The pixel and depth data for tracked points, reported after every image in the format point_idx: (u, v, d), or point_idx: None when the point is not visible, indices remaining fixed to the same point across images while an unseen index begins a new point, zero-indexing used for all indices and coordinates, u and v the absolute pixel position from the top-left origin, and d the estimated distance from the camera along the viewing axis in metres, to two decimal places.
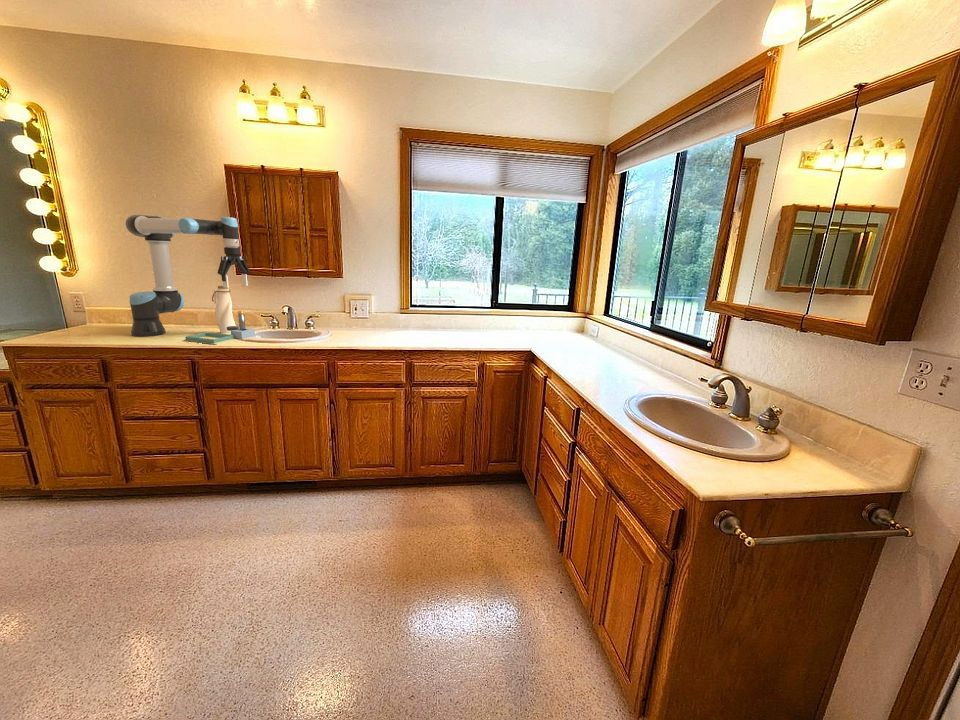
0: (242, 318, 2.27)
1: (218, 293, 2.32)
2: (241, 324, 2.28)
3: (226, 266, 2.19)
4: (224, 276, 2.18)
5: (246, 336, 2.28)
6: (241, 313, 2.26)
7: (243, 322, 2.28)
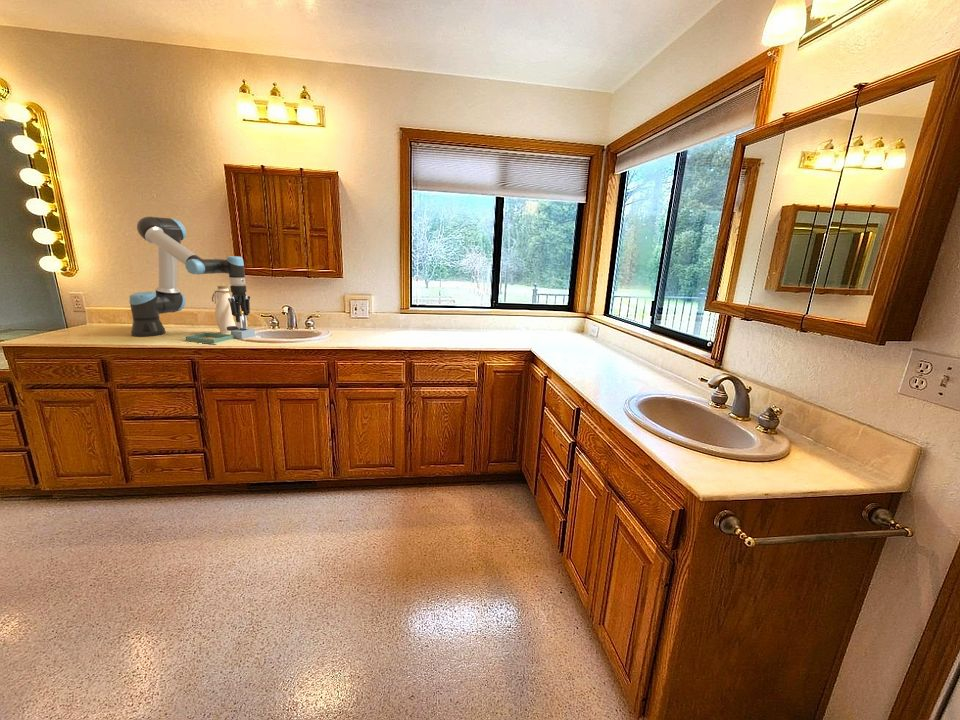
0: (242, 318, 2.27)
1: (218, 293, 2.32)
2: None
3: (236, 306, 2.24)
4: (238, 317, 2.25)
5: (246, 336, 2.28)
6: (241, 313, 2.26)
7: (243, 322, 2.28)
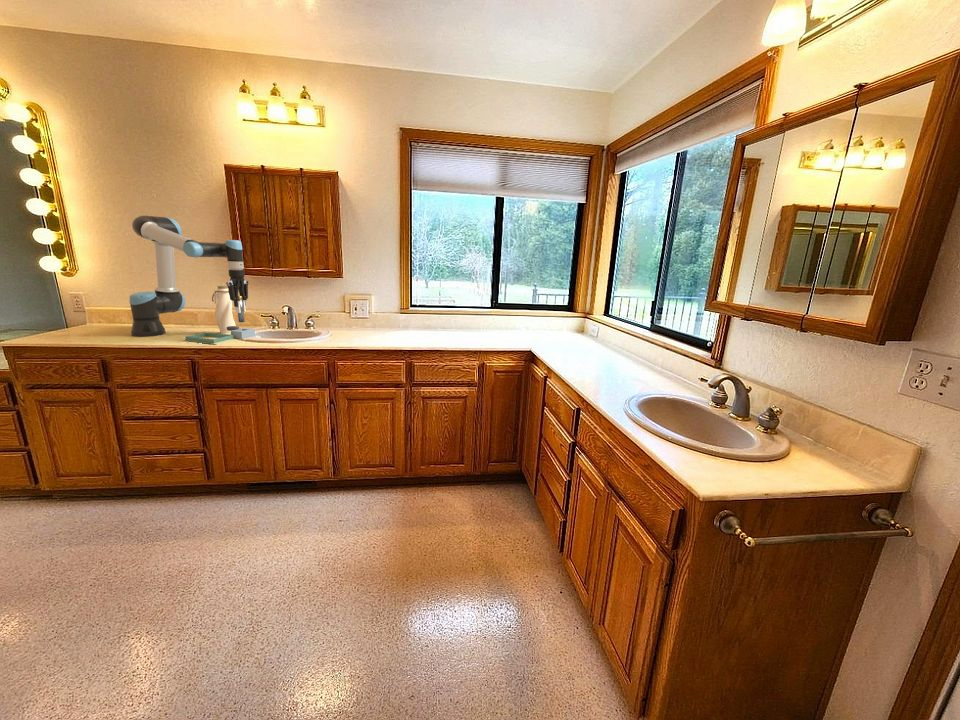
0: (240, 303, 2.25)
1: (218, 293, 2.32)
2: None
3: (235, 291, 2.22)
4: (236, 302, 2.23)
5: (246, 336, 2.28)
6: (239, 298, 2.24)
7: (241, 307, 2.26)
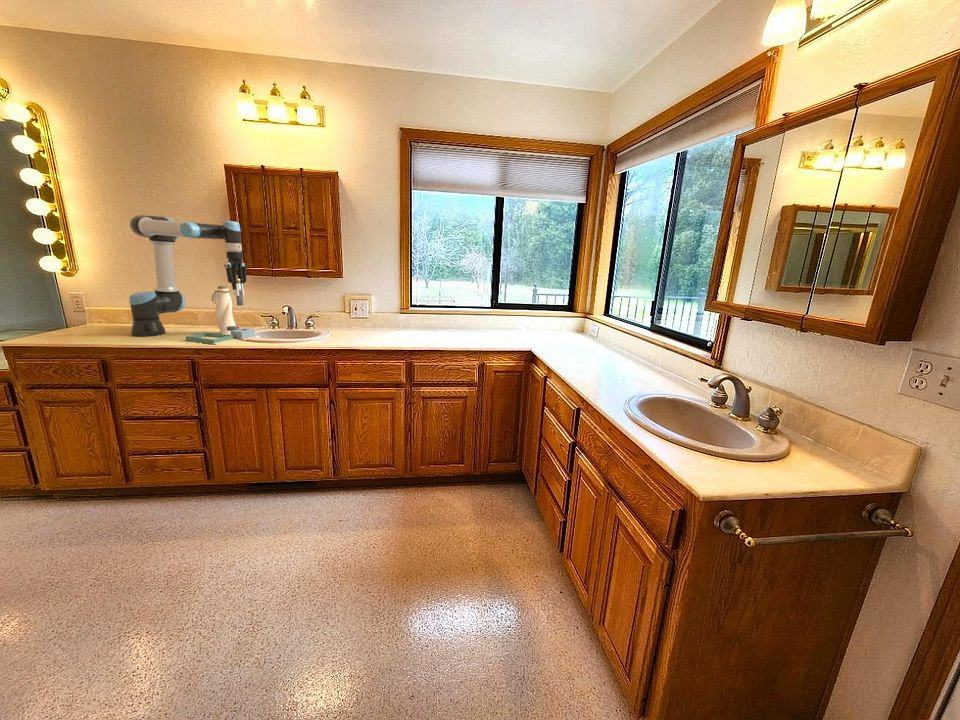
0: (239, 286, 2.22)
1: (218, 293, 2.32)
2: None
3: (233, 273, 2.19)
4: (234, 284, 2.20)
5: (246, 336, 2.28)
6: (238, 280, 2.22)
7: (240, 290, 2.23)
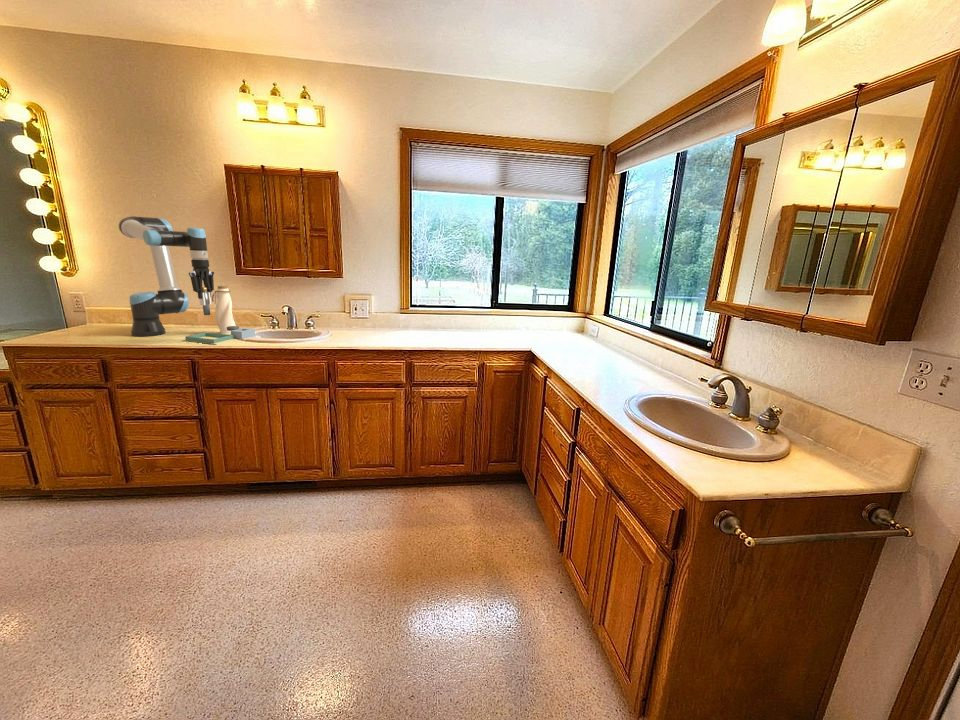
0: (205, 295, 2.14)
1: (218, 293, 2.32)
2: None
3: (198, 282, 2.10)
4: (200, 293, 2.12)
5: (246, 336, 2.28)
6: (204, 289, 2.13)
7: (206, 299, 2.15)
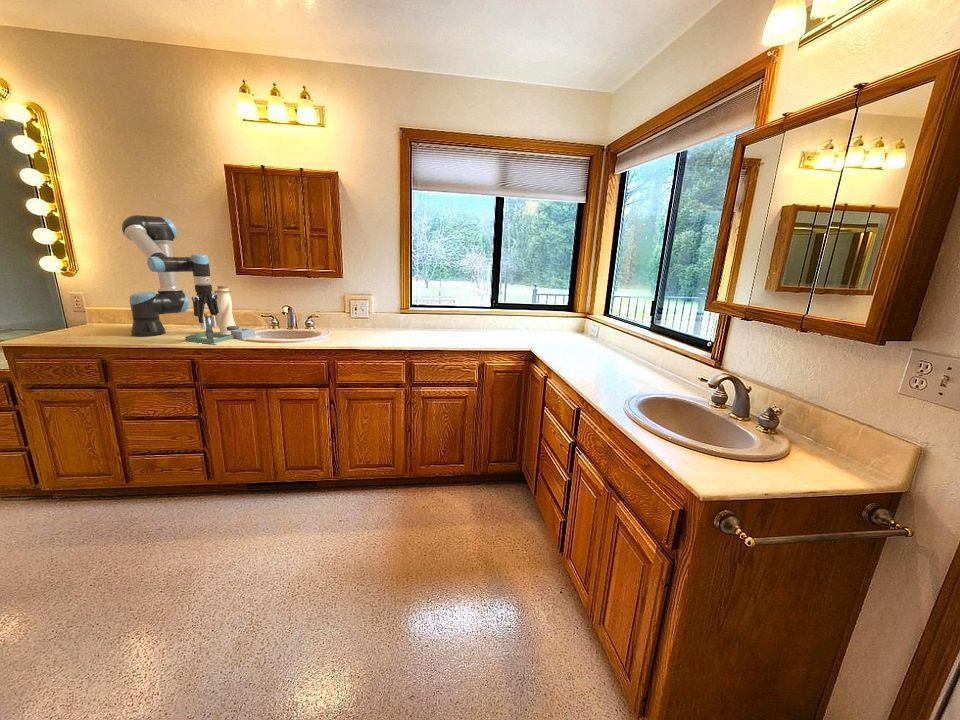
0: (208, 321, 2.17)
1: (218, 293, 2.32)
2: (207, 327, 2.18)
3: (200, 306, 2.13)
4: (201, 318, 2.14)
5: (246, 336, 2.28)
6: (207, 315, 2.17)
7: (209, 325, 2.18)
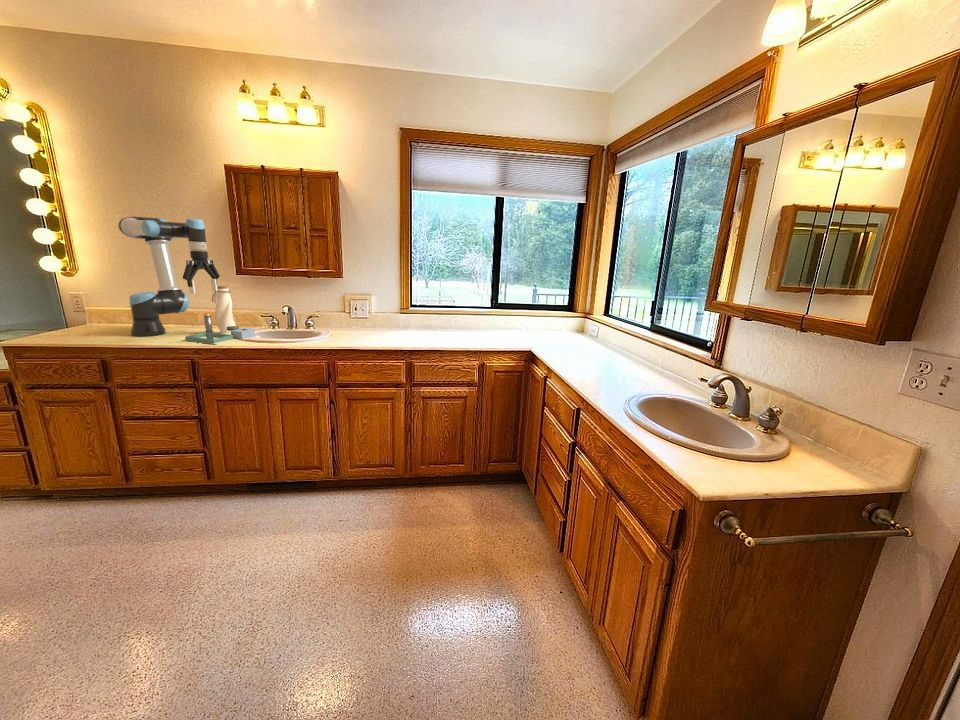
0: (208, 321, 2.17)
1: (218, 293, 2.32)
2: (207, 327, 2.18)
3: (192, 271, 2.07)
4: (190, 281, 2.05)
5: (246, 336, 2.28)
6: (207, 315, 2.17)
7: (209, 325, 2.18)
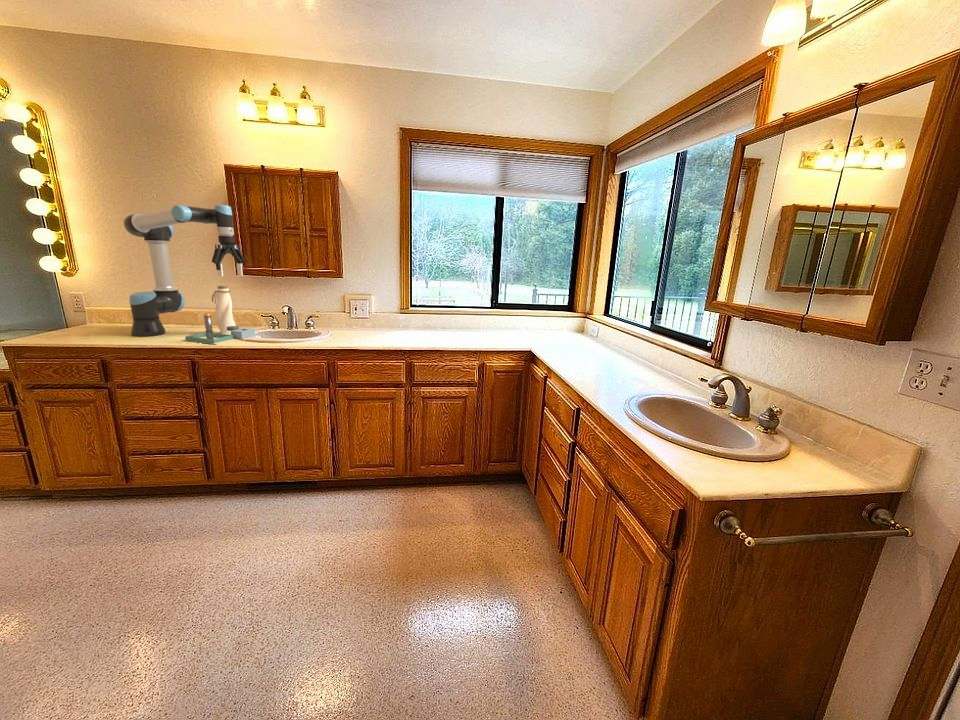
0: (208, 321, 2.17)
1: (218, 293, 2.32)
2: (207, 327, 2.18)
3: (220, 255, 2.16)
4: (218, 265, 2.15)
5: (246, 336, 2.28)
6: (207, 315, 2.17)
7: (209, 325, 2.18)
